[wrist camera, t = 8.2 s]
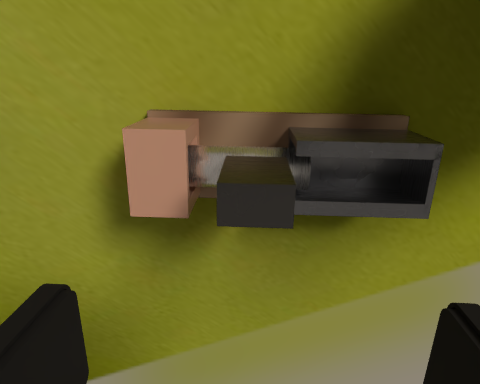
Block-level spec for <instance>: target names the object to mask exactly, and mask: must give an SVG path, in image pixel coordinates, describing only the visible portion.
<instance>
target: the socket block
mask: <svg viewBox="0 0 480 384" xmlns="http://www.w3.org/2000/svg"><path fill="white" fill-rule="evenodd" d="M122 131H123V141H124V152H125V163H126V173H127V184H128V195H129V205H130V216H136V217H167V218H189V216H190V214H191V211H192V209H193V207H194V205H195V203H196V200H197V198H198V196H199V194H200V187H189V169H188V145H199V119H192V118H145V119H143V120H141V121H139V122H136V123H134V124H132V125H129V126H127V127H125V128H122Z"/></svg>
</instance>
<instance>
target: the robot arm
mask: <svg viewBox="0 0 480 384" xmlns="http://www.w3.org/2000/svg"><path fill="white" fill-rule="evenodd" d="M88 374H89V369H88V363H87V356H86V350H85V344H84V338H83V332H82V326H81V320H80V313H79V307H78V301H77V295H76V293H75V291H71V289H70V287H69V286H68V285H65V284H43V285H42V286H40V287H39V288H38V289H37V290H36V291H35V292H34V293H33V294H32V295H31V296H30V297H29V298H28V299H27V300H26V301H25V302H24V303H23V304H22V305H21V306H20V307H19V308H18V309H17V310H16V311H15V312H14V313H13V314H12V315H11V316H9V317H8V318H7V319H6V320H5V321H4V322H3V323H2V324H1V325H0V384H86V383H87V380H88ZM423 384H480V306H479V305H478V304H470V303H450V304H449V305H448V307H447V308H445V309H443V310H442V311H441V313H440V317H439V321H438V325H437V330H436V333H435V338H434V342H433V346H432V350H431V354H430V358H429V362H428V366H427V370H426V374H425V378H424V382H423Z"/></svg>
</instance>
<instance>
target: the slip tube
mask: <svg viewBox="0 0 480 384" xmlns="http://www.w3.org/2000/svg"><path fill="white" fill-rule="evenodd" d="M188 169H189V187H214V188H217V226H231V227H262V228H293V222H294V208H295V195H296V190H307V189H308V187H309V182H310V174H311V157H306V156H296V155H295V148H285V147H244V146H204V145H188Z"/></svg>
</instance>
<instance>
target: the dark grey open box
mask: <svg viewBox="0 0 480 384" xmlns="http://www.w3.org/2000/svg"><path fill="white" fill-rule="evenodd" d="M443 146H444V144H442V143H440V142H437V141H435V140H432V139H430V138H427V137H424V136H422V135H419V134H417V133H414V132H412V131H409V130H394V129H349V128H305V127H289V136H288V148H295V155H296V156H306V157H311V174H310V182H309V187H308V189H307V190H296V195H295V208H294V215H323V216H356V217H388V218H421V219H428V218H429V213H430V208H431V203H432V199H433V194H434V189H435V184H436V180H437V175H438V170H439V165H440V161H441V156H442V151H443Z"/></svg>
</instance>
